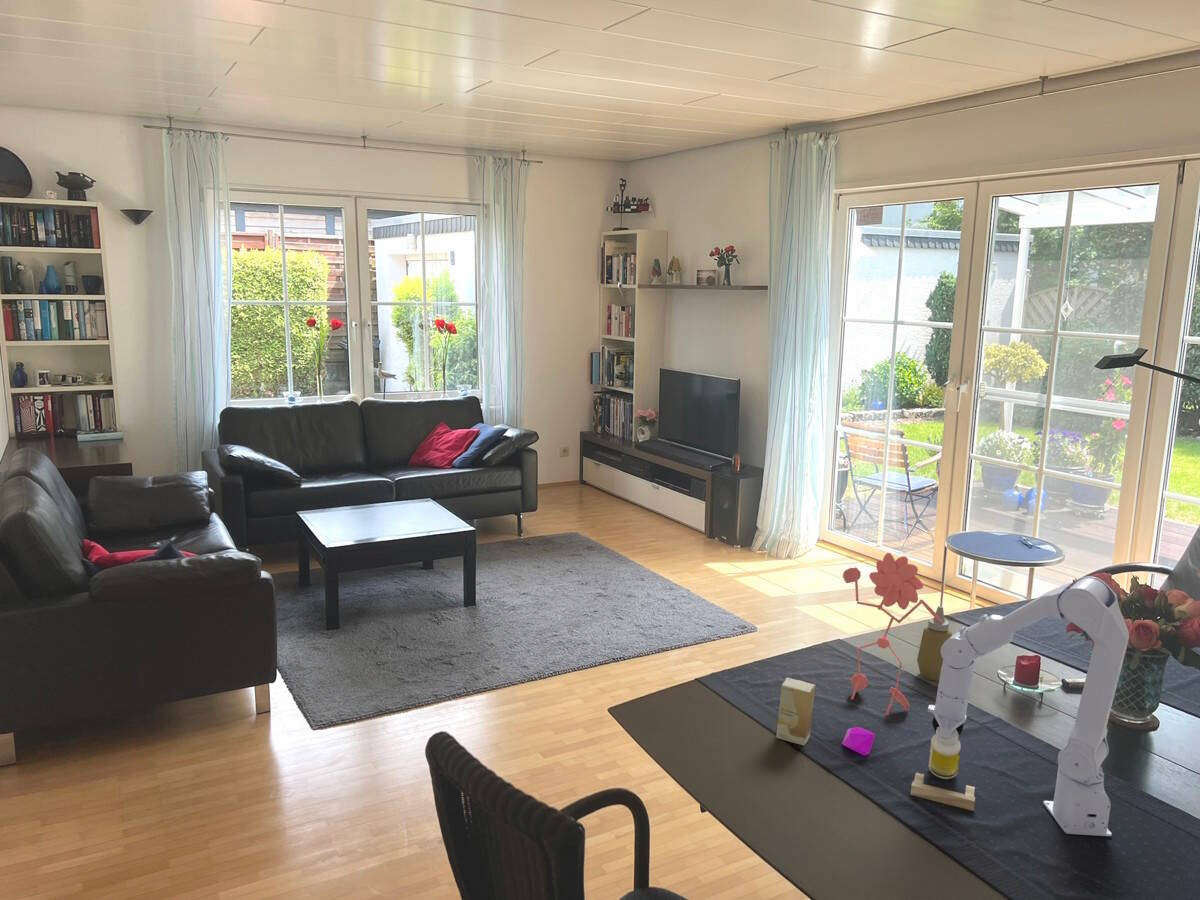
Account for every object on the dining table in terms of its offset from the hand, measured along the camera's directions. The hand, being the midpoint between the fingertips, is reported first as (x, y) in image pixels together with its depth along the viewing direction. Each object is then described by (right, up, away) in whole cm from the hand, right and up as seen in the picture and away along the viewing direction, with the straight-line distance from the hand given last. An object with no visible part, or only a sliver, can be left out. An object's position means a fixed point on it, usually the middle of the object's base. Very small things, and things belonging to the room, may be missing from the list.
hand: (942, 753), depth 175 cm
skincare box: (-27, 0, +10) cm, 29 cm away
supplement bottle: (-1, -3, -2) cm, 3 cm away
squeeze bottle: (+14, +5, +41) cm, 44 cm away
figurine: (-2, +3, +28) cm, 28 cm away
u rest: (-4, -5, -10) cm, 11 cm away
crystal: (-15, -1, +6) cm, 16 cm away
